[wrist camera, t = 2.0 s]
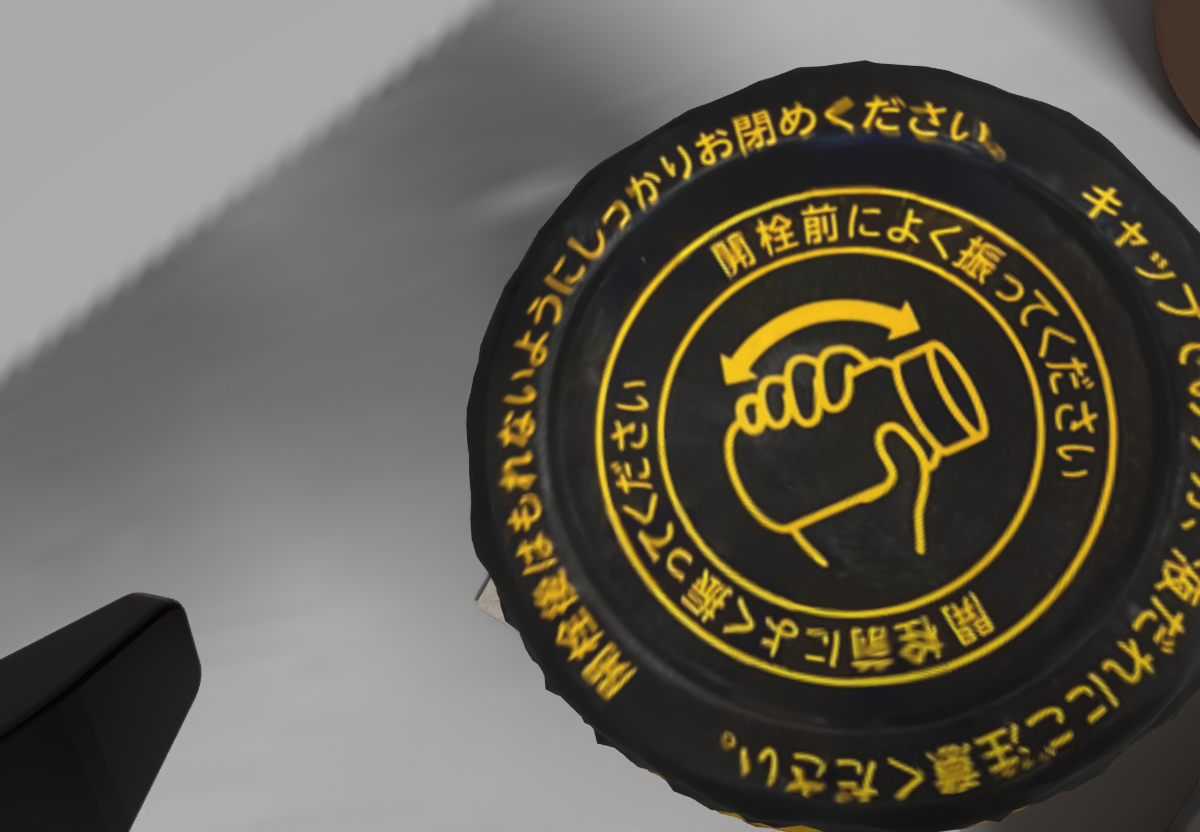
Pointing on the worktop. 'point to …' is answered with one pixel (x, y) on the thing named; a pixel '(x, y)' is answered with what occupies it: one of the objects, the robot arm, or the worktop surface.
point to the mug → (1180, 49)
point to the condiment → (852, 452)
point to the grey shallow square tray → (1188, 813)
